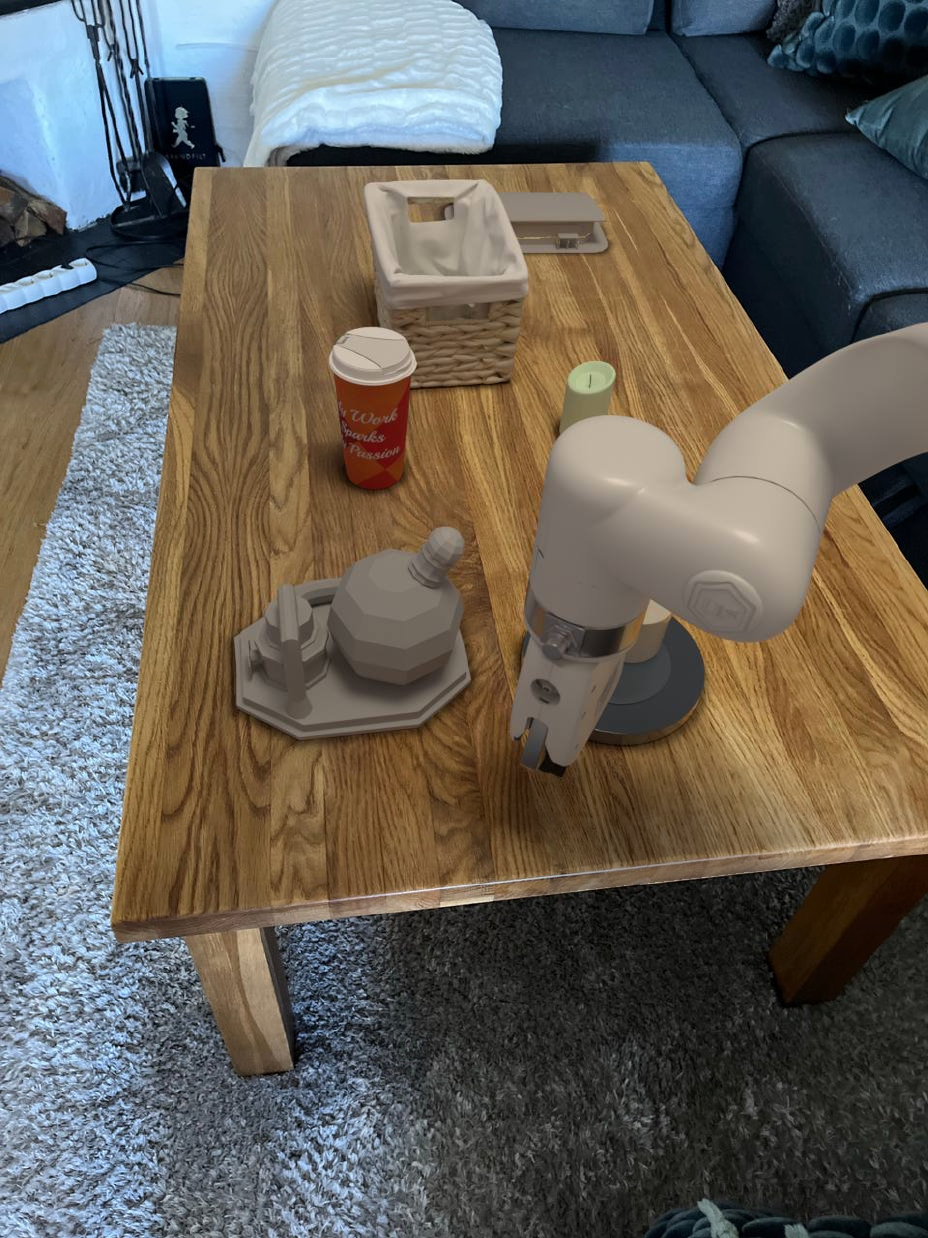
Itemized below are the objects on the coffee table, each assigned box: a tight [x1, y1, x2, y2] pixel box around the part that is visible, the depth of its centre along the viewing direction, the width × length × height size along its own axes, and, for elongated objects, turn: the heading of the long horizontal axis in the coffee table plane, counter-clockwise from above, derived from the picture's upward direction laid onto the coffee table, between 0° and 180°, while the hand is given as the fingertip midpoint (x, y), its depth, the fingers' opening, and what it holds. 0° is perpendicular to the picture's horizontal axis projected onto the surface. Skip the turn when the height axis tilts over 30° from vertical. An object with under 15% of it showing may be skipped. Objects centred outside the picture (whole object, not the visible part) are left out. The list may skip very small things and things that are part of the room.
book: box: [443, 191, 609, 254], centre depth 136 cm, size 15×23×4 cm, turn 97°
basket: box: [363, 178, 530, 389], centre depth 111 cm, size 24×16×15 cm
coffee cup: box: [328, 326, 417, 491], centre depth 94 cm, size 8×8×15 cm
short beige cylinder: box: [624, 599, 673, 663], centre depth 82 cm, size 6×6×5 cm
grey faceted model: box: [233, 526, 472, 741], centre depth 76 cm, size 20×15×15 cm
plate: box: [520, 615, 706, 746], centre depth 82 cm, size 16×16×2 cm
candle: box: [558, 360, 617, 436], centre depth 102 cm, size 5×5×8 cm
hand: (547, 762), depth 72 cm, fingers closed
